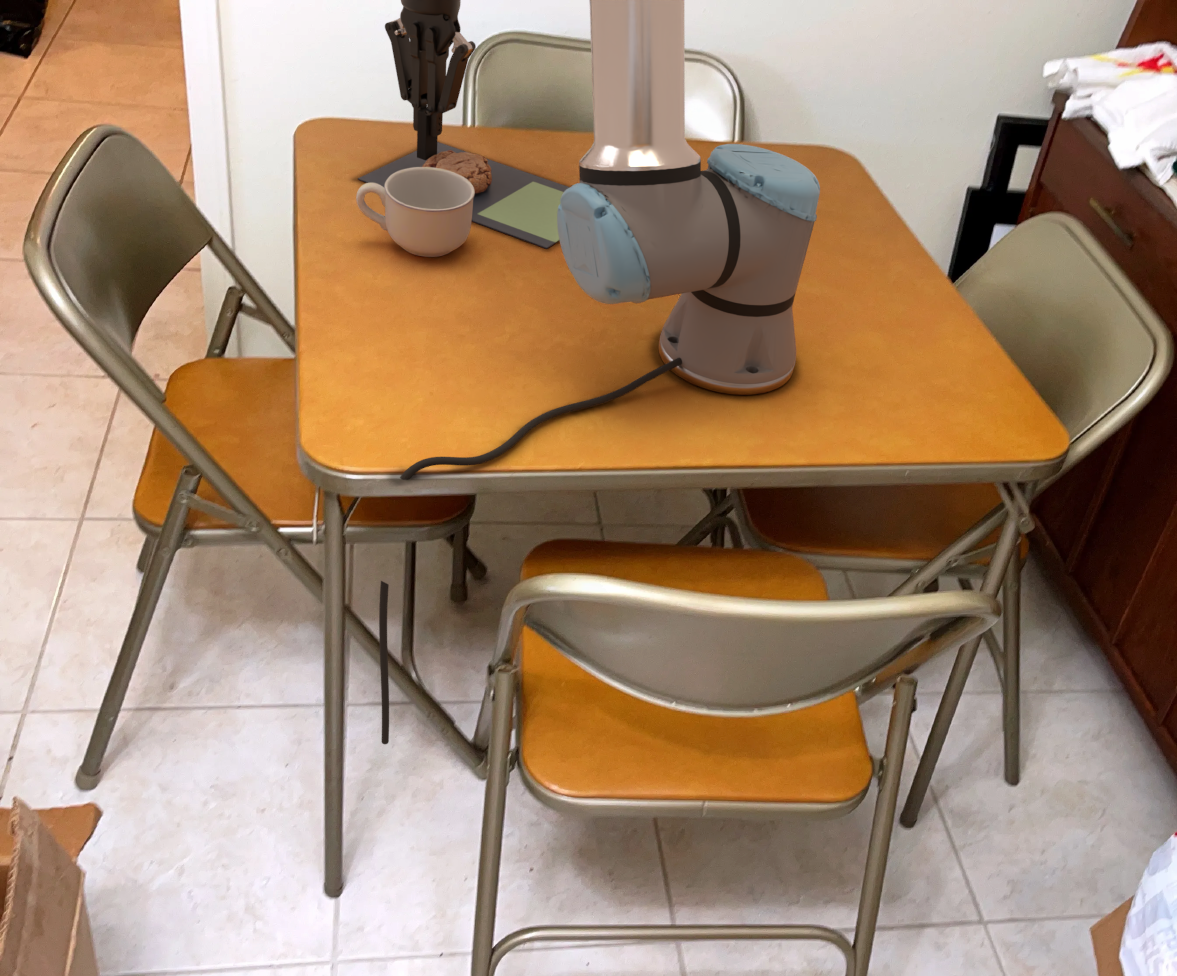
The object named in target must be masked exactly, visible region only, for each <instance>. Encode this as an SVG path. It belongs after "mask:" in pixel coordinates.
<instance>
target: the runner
mask: <svg viewBox="0 0 1177 976" xmlns="http://www.w3.org/2000/svg"><path fill="white" fill-rule="evenodd" d="M448 150H452V151H453V152H455V153H460V152H468V153H470V152H469V151H466V150H463V149H459V148H457V147H454V146H451V145H448V144H445V143H443V142H440V141H437V154H438V153H440V152H444V151H448ZM485 159H487V160H488V165H489V166H490V167H491V175H492V182H491V185H490V186H488V187H487V189H486V190H485V191H484V192H480V193H475V194H474V198H473V210H472V221H471V223H474V224H477V225H480V226H483V227H485V228H488V229H490V230H493V231H496V232H498V233H502V234H503V235H507V236H510V237H512V238H514V239H518V240H521V241H523V242H526V243H529V244H532V245H535V246H537V247H539V248H541V249H545V250H548V249H549V248H551V247H552V246H554V245H556V244H557V243H559V242H560V240H559V234H558V226H557V212H558V206H559V205H560V204H561V202H560V199H561V196H562V194H563V193H564V191H565V190H566V189H568V188H570V187H571V186H567V185H564V184H561V183H559V182H556V181H553V180H550V179H547V178H544V177H540V176H538V175H536V174H533V173H530V172H527V171H524V170H521V169H518V168H515V167H512V166H509V165H507V164H504V163H500V162H498V161H494V160H492V159H489V158H486V157H485ZM427 160H428V159H427ZM427 160H423V159H420V158H417V150H414V151H412V152H410V153H408V154H407V155H404V156H402V157H400V158H398V159H396V160H394V161H391V162H390V163H387V164H385V165H383V166H380V167H378V168H376V169H374V170H372V171H370V172H368V173H366V174H364V175H362V176H360V177H357V181H360V182H363V183H364V184H366V183H377V184H379V185H381V186H382V187H384V186H385V182H386V180H387V179H388V178H389V176H391V175H392V174H393V173H395V172H397V171H400V170H403V169H407V168H414V167H422V166H423V165H424V164H425V162H426V161H427Z"/></svg>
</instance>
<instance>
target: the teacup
mask: <svg viewBox="0 0 1177 976" xmlns="http://www.w3.org/2000/svg"><path fill="white" fill-rule="evenodd" d="M370 193H374V194H376V195H377V196H378V197H379V199H380V201H381V205H382V206H383V207H384V215H383V214H381V213H379V212H377V211H376V210H374V209H373V208H371V207H370V206H369V205H368V204H367V202H366V201H365V196H366V195H367V194H370ZM474 194H475V191H474V187H473V185H472V184H471V183H470V182H469V181H468V180H467V179H466V178H464V177H463V176H461V175H458V174H456V173H454V172H451V171H448V170H444V169H440V168H432V167H414V168H407V169H403V170H400V171H397V172H395V173H393V174H392V175H391V176H389V178H388V179H387V180H386V182H385V186H384V187H382V186H381V185H379V184H377V183H363V184H362V185H361V186H360V187H359V188H358V189H357V192H356V197H355V198H356V199H355V201H356V205H357V207H358V209H359V211H360V212H361V213H362V214H363V215H364V216H365V217H366V218H368V219H370V220H371V221H373V222H375V223H377V224H378V225H379V226H380V228H381V229H382V230H383V231H387V232H388V235H389V237H391V240H392V241H394V243H395V244H396V245H398V246H400V247H401V249H403V250H404V251H406V252H408V253H409V254H412V255H415V256H418V257H423V258H438V257H442V256H445V255H448V254H450V253H451V252H453V251H455V250H456V249H459V247H461V246H462V245H463V244H464V243H465V242H466V241H467V239H468V237H469V235H470V232H471V228H472V227H471V226H472V210H473V198H474Z"/></svg>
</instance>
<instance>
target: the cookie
mask: <svg viewBox="0 0 1177 976" xmlns="http://www.w3.org/2000/svg"><path fill="white" fill-rule="evenodd" d="M468 152H469V151H466V152H460V153H455V152H453V151H452V150H448V151H444V152H440V153H438V154H437V155H433V156H431V157H430V158H429V159H428V160H427V161H426V162H425V164H424V165H423V166H422V167H432V168H440V169H444V170H448V171H451V172H454V173H456V174H458V175H461V176H463V177H464V178H466V179H467V180H468V181H469V182H470V183H471V184H472V185H473V187H474V191H475V193H480V192H484V191H485V190H486V189H487V187H488V186H490V185H491V182H492V175H491V167H490V166H489V165H488V160H487V159H488V158H486V157H485V156H483V155H480V154H475V153H472V152H469V153H468ZM485 158H486V159H485Z"/></svg>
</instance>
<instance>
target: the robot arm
mask: <svg viewBox="0 0 1177 976" xmlns="http://www.w3.org/2000/svg"><path fill="white" fill-rule="evenodd" d="M461 3H462V1H461V0H400V4H401V6H402V10H401V11H400V14H399V18H397V19H394V20H391V21H388V22H386V23H385V24H384V29H385V32H386V34H387V37H388V39H389V41H390V44H391V49H392V56H393V62H394V66H395V67H394V68H395V72H396V78H397V82H398V88H399V89H398V90H399V95H400V98H401V99H402V101H407V102H408V103H410V105H411V107H412V109H413V112H412V113H413V115H412V116H413V117H412V118H413V119H412V127H413V130H414V131H415V132H416V151H417V158H420V159H423V160H427V159H429V158H430V157H431V156H433V155H437V142H438V137H439V136H440V135H442V132H443V116H444V115H443V114H446V113H447V112H449V111H452V110H454V109H455V108H456V107H457V104H458V101H459V96H460V94H461V93H460V92H461V89H462V85H463V81H464V77H465V73H466V70H467V67H468V62H469V59H470V58H471V56H472V55H473V53H474V52H475V50H476V49H477V48H476V47H477V46H476V43H475V42H474V41H473V40H470V41H468V40H467V39H466V38H465V37H464V35H462V33H461V29H462V28H461V25H460V22H459V12H460V9H461ZM589 28H590V29H589V30H590V32H589V33H590V56H591V57H590V58H591V59H590V60H591V61H590V62H591V63H590V64H591V90H592V120H593V122H592V123H593V142H592V145H591V146H590V147H589V149H588V150H587V151H586V152H585V153H584V154H583V156H582V157H581V158H580V159H579V160H578V170H579V171H578V173H579V178H578V179H579V182H577V183H575V184H572V185H571V186H569V187H570V188H568V189H566V190H565V191H564V193H563V194H562V196H561V199H560V202H561V204H560V205H559V206H558V212H557V226H558V234H559V240H560V241H559V244H560V248H561V252H562V256H563V258H564V261H565V263H566V266H567V267H568V270H569V273H570V274H571V275H572V277H573V278H574V280H575V282H576V284H577V286H579V288H580V289H581V290H582V292H584V294H585V295H587V296H588V297H589V298H591V299H592V300H594V301H595V302H598V303H601V304H605V305H618V304H626V303H633V304H641V303H645V302H646V301H648V300H654V299H659V298H664V297H669V296H676V295H680V296H679V298H678V300H677V301H676V303H675V305H674V306H673V308H672V310H671V311H670V312H669V315H668V317H667V318H666V320H665V322H664V324H663V326H662V329H661V331H660V335H659V341H658V354H659V357H660V359H661V361H662V362H663V365H661V366H659V367H657V368H655V369H653V370H651V371H649V372H647V373H645V374H643V375H642V376H639V377H638V378H636V379H635V380H633V381H631V382H629V383H628V384H626V385H624V386H622V387H620V388H618V389H615V390H613V391H611V392H608V393H606V394H603V395H600V396H597V397H593V398H589V399H586V400H582V401H578V402H574V403H570V404H569V403H568V404H566V405H563V406H559V407H556V408H554V409H551V410H548V411H546V412H544V413H542V414H540V415H537V416H536V417H534V418H533V419H531V420H530V421H528V422H527V423H525V424H524V425H523V426H522V427H521V428H520V429H518V430H517V431H516V432H515V433H514V434H513V435H512V436H511V437H509V438H508V439H507V440H506V441H505V442H503V443H502V444H501V445H499V446H498V447H496V448H494V449H493V450H490V451H488V452H485V453H483V454H480V455H477V456H468V457H467V456H466V457H462V456H461V457H459V456H431V457H427V458H423V459H421V460H419V461H416V462H415V463H413V464H412V465H410V466H409V467H407V469H406V470H405V471H403V473H402V474H401V475H400V477H399V478H400V479H401V480H403V481H407V480H410V479H411V478H412V477H413V476H414V475H415V474H416V473H418V472H419V471H421V470H423V469H425V468H428V467H432V466H464V467H465V466H476V465H482V464H485V463H488V462H490V461H493V460H495V459H497V458H499V457H501V456H502V455H504V454H505V453H507V452H508V451H509V450H511V449H512V448H513V447H515V445H517V444H518V443H519V442H520V441H521V440H522V439H523V438H524V437H525V436H526V435H527V434H529V433H530V432H531V431H532V430H533V429H535V428H537V427H538V426H539V425H541V424H543V423H545V422H547V421H549V420H551V419H555V418H556V417H559V416H562V415H565V414H568V413H572V412H576V411H580V410H584V409H588V408H592V407H595V406H599V405H602V404H605V403H608V402H611V401H614V400H617V399H618V398H620V397H622V396H625V395H626V394H629V393H630V392H633V391H634V390H636V389H637V388H639V387H641V386H643V385H645V384H646V383H648V382H650V381H651V380H654V379H656V378H657V377H660V376H662V375H663V374H665V373H667V372H669V371H671V372H672V373H674V374H675V375H676V376H677V377H679V378H680V379H682V380H684V381H686V382H688V383H690V384H692V385H694V386H696V387H697V386H698V387H700V388H702V389H706V390H709V391H713V392H717V393H722V394H729V395H742V396H743V395H757V394H765V393H767V392H768V393H769V392H771V391H774V390H777V389H779V388H780V387H782V386H784V385H785V384H787V382H788V381H789V380H790V379H791V377H792V375H793V373H794V368H795V366H796V362H797V361H796V360H797V342H796V332H795V323H794V321H795V320H794V312H793V307H794V306H793V305H794V301H795V297H796V293H797V290H798V286H799V281H800V278H801V275H802V270H803V268H804V267H803V266H804V263H805V259H806V256H807V252H808V248H809V244H810V241H811V236H812V233H813V229H814V226H815V223H816V221H817V218H818V215H817V210H818V209H817V208H818V204H819V201H820V194H821V186H820V182H819V179H818V178H817V176H816V175H815V174H814V173H813V172H812V170H810V169H809V168H808V167H807V166H805V165H804V164H802V163H801V162H799V161H797V160H795V159H793V158H792V157H788V156H787V155H784V154H782V153H779V152H776V151H774V150H770V149H768V148H763V147H759V146H755V145H749V144H741V143H740V144H739V143H725V144H720V145H718V146H716V147H714V148H713V150H711V152H710V155H709V157H707V160H706V163H707V168H706V169H705V170H704V169H703V170H702V160H701V156H700V154H698V152H697V151H696V150H694V149H693V148H692V146H691V145H690V144H689V143H688V142H687V139H686V133H685V131H686V127H685V126H686V123H685V122H686V119H685V117H686V115H685V114H686V112H685V111H686V110H685V109H686V107H685V106H686V102H685V101H686V100H685V97H686V96H685V94H686V93H685V92H686V87H685V83H686V82H685V78H686V77H685V74H686V73H685V71H686V70H685V66H686V65H685V62H686V61H685V57H686V56H685V53H686V52H685V48H686V47H685V0H589ZM452 45H453V46H452ZM451 46H452V48H451V53H452V54H451V57H450V59H449V61H448V67H447V60H448V58H449V56H450V47H451ZM379 585H380V586H379V603H378V605H379V608H378V609H379V610H378V613H379V614H378V615H379V616H378V618H379V619H378V632H379V633H378V634H379V635H378V636H379V666H380V693H381V694H380V697H381V744H383V745H388V744H389V741H390V681H389V680H390V679H389V655H388V653H389V652H388V651H389V650H388V603H389V588H390V587H389V584H388V583H387V582H385V581H383V580H380V584H379Z"/></svg>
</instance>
